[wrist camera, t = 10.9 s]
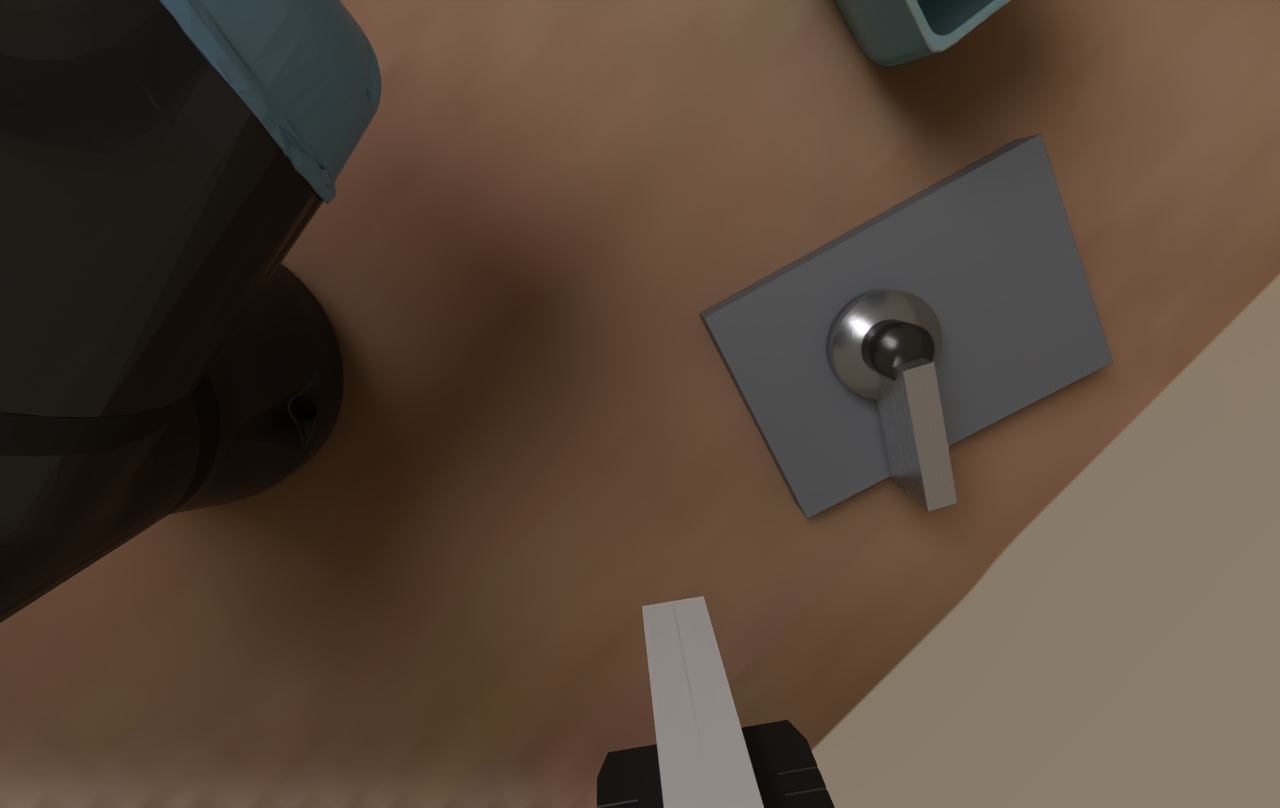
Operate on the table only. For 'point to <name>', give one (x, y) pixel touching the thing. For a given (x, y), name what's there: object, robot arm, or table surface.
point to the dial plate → (958, 294)
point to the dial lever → (898, 385)
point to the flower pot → (912, 25)
